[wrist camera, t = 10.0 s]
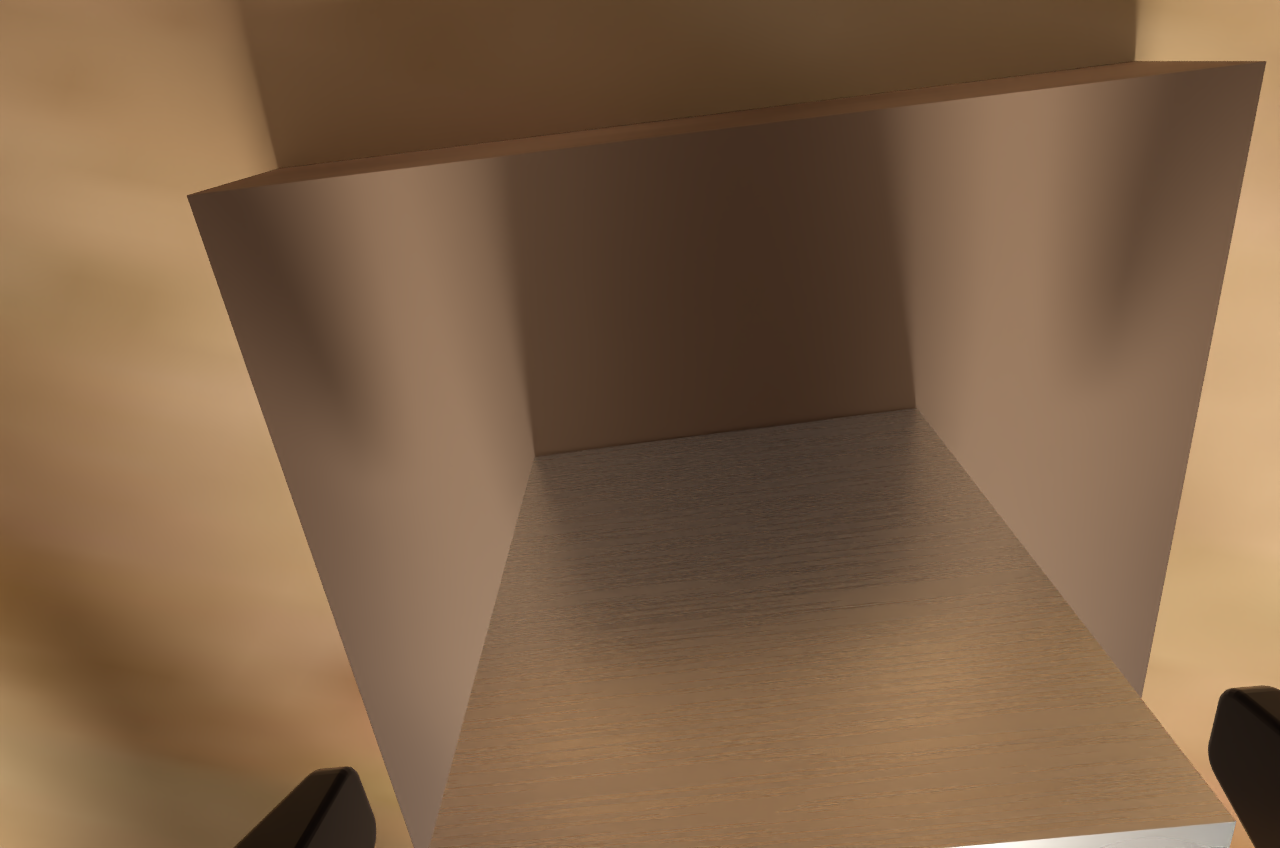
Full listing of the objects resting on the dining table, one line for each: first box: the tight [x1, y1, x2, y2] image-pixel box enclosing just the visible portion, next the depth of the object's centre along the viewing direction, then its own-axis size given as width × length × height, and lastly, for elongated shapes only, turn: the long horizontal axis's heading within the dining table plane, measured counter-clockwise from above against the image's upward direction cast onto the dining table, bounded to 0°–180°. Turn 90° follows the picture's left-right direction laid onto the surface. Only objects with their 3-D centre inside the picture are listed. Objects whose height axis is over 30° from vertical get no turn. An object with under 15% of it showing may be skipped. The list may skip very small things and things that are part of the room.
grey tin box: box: [429, 408, 1236, 848], centre depth 9 cm, size 5×5×6 cm
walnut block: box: [187, 61, 1266, 848], centre depth 13 cm, size 12×12×3 cm
